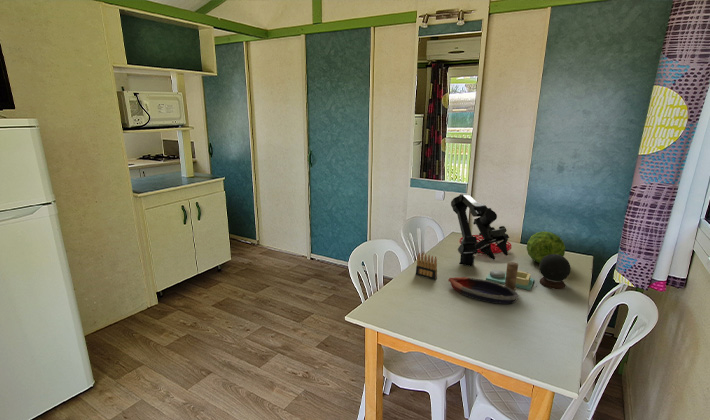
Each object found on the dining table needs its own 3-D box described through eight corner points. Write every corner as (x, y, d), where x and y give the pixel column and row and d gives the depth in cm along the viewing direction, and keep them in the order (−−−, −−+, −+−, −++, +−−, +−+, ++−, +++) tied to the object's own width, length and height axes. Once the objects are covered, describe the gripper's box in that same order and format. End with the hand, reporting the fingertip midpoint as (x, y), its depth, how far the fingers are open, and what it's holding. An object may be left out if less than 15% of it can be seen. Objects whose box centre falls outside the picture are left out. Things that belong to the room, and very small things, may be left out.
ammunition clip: (436, 278, 184) (438, 256, 181) (435, 280, 183) (436, 257, 180) (417, 273, 190) (418, 251, 187) (415, 274, 189) (416, 252, 186)
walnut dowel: (503, 290, 173) (506, 264, 169) (505, 286, 176) (508, 261, 173) (513, 293, 170) (517, 266, 167) (515, 289, 174) (519, 263, 171)
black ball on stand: (536, 286, 177) (540, 256, 173) (537, 276, 188) (541, 248, 185) (568, 292, 171) (573, 262, 167) (567, 281, 182) (572, 252, 179)
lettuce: (566, 260, 210) (564, 228, 210) (566, 268, 189) (564, 232, 189) (529, 260, 219) (527, 229, 219) (526, 267, 199) (523, 233, 198)
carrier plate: (485, 279, 184) (486, 272, 183) (491, 271, 193) (492, 264, 192) (529, 290, 173) (531, 282, 172) (533, 280, 183) (534, 273, 182)
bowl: (504, 264, 203) (505, 255, 202) (452, 253, 219) (452, 245, 217) (515, 248, 227) (516, 240, 226) (467, 239, 243) (467, 232, 241)
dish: (512, 312, 154) (514, 301, 153) (442, 291, 172) (443, 281, 170) (521, 298, 166) (522, 287, 165) (455, 280, 184) (455, 270, 182)
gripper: (482, 224, 172) (499, 255, 166) (508, 217, 181) (525, 246, 176) (467, 234, 180) (483, 264, 175) (493, 227, 190) (508, 255, 184)
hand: (500, 257), depth 177 cm, fingers open, 9 cm apart
